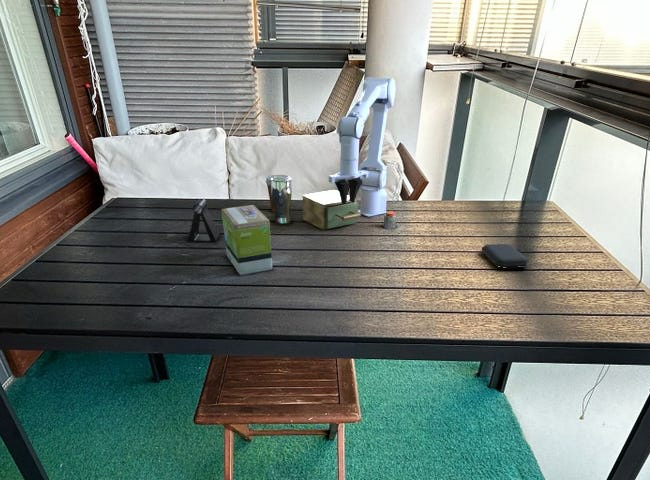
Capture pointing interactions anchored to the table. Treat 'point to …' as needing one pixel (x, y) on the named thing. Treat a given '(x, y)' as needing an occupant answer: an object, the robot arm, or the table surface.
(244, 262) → the tea box
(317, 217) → the cabinet
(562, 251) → the table surface
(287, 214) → the beer glass
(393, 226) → the small jar with lid
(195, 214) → the phone stand
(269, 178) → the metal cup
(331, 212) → the drawer
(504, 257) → the carrying case
